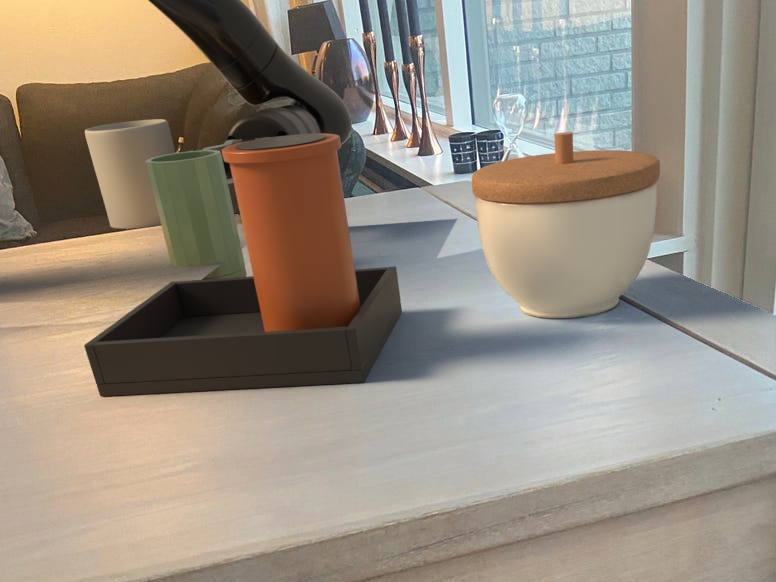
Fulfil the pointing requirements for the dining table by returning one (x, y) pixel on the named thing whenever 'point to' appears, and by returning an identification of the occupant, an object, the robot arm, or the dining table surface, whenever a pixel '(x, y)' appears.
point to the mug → (128, 168)
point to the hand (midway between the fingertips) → (225, 174)
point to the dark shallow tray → (237, 340)
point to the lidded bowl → (567, 226)
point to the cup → (197, 211)
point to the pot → (296, 230)
